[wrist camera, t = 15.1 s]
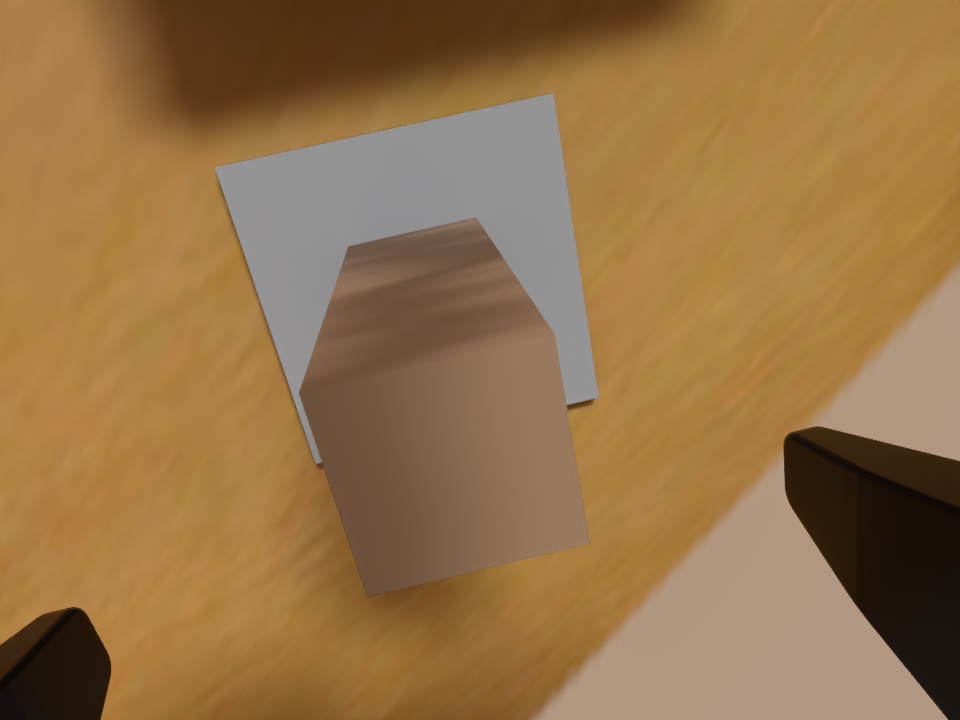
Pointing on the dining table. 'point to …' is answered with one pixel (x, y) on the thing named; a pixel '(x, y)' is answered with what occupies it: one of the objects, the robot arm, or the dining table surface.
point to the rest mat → (413, 220)
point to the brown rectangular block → (441, 411)
